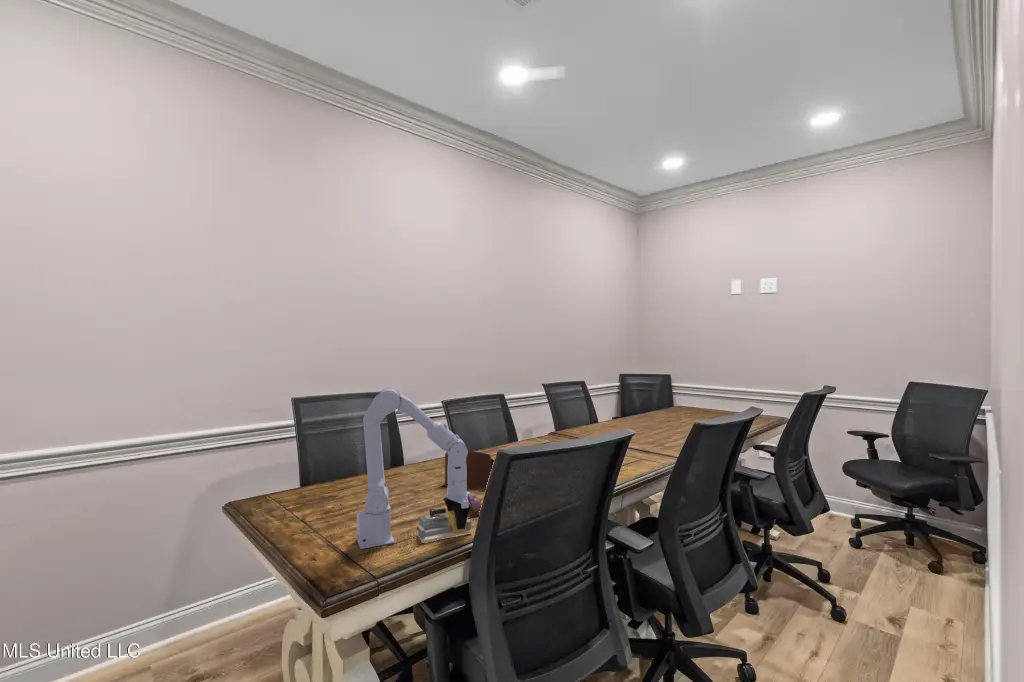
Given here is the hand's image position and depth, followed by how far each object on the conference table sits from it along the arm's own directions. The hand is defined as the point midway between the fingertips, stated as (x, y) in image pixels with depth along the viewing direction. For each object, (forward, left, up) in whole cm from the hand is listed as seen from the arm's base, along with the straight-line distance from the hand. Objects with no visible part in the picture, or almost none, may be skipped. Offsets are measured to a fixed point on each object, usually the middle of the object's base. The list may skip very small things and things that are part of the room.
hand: (457, 524), depth 141 cm
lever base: (-5, +8, -2) cm, 10 cm away
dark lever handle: (-4, +8, +1) cm, 9 cm away
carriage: (0, 0, -1) cm, 1 cm away
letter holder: (+22, +45, -3) cm, 50 cm away
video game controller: (+12, +15, -3) cm, 19 cm away
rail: (-4, 0, -2) cm, 5 cm away
